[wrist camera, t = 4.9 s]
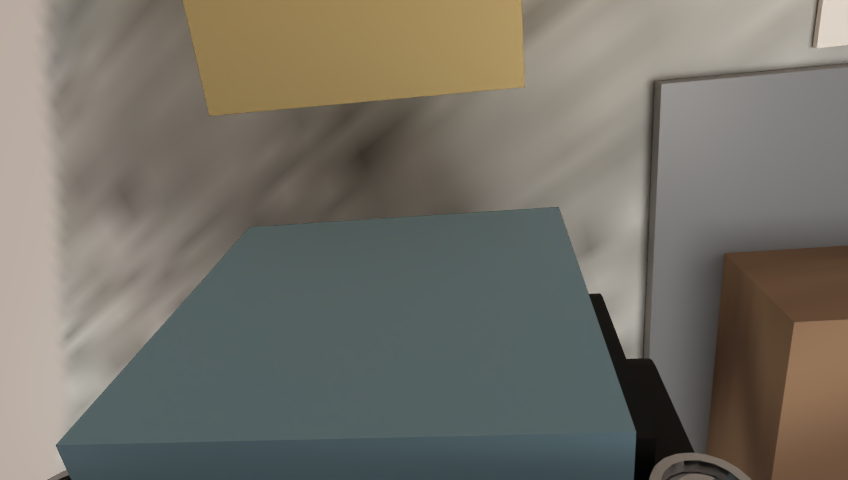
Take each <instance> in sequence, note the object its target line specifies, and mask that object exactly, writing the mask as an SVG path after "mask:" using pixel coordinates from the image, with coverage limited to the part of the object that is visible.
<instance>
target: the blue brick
mask: <svg viewBox="0 0 848 480" xmlns="http://www.w3.org/2000/svg"><path fill="white" fill-rule="evenodd" d="M56 447H57V449H58V451H59V454H60V456H61V458H62V460H63V462H64V465H65V467H66V469H67V471H68V474H69V476H70V478H71V480H634V467H635V447H636V430H635V427H634V424H633V421H632V418H631V415H630V413H629V410H628V407H627V404H626V401H625V398H624V395H623V392H622V389H621V386H620V384H619V381H618V378H617V375H616V372H615V369H614V366H613V363H612V360H611V357H610V355H609V352H608V349H607V346H606V343H605V340H604V337H603V334H602V331H601V328H600V326H599V323H598V320H597V317H596V314H595V311H594V308H593V305H592V302H591V299H590V297H589V294H588V291H587V288H586V285H585V282H584V279H583V276H582V273H581V270H580V268H579V265H578V262H577V259H576V256H575V253H574V250H573V247H572V244H571V241H570V239H569V236H568V233H567V230H566V227H565V224H564V221H563V218H562V215H561V212H560V210H559V207H550V208H534V209H519V210H504V211H489V212H473V213H458V214H443V215H427V216H412V217H397V218H381V219H366V220H351V221H335V222H320V223H305V224H289V225H274V226H259V227H249V229H248V230H247V231H246V232H245V233H244V234H243V235H242V236H241V238H240V239H239V240H238V241H237V242H236V243H235V244H234V245H233V247H232V248H231V249H230V250H229V251H228V252H227V253H226V254H225V256H224V257H223V258H222V259H221V260H220V261H219V262H218V263H217V265H216V266H215V267H214V268H213V269H212V270H211V271H210V272H209V274H208V275H207V276H206V277H205V278H204V279H203V280H202V281H201V283H200V284H199V285H198V286H197V287H196V288H195V289H194V290H193V291H192V293H191V294H190V295H189V296H188V297H187V298H186V299H185V300H184V302H183V303H182V304H181V305H180V306H179V307H178V308H177V309H176V311H175V312H174V313H173V314H172V315H171V316H170V317H169V318H168V320H167V321H166V322H165V323H164V324H163V325H162V326H161V327H160V329H159V330H158V331H157V332H156V333H155V334H154V335H153V336H152V338H151V339H150V340H149V341H148V342H147V343H146V344H145V345H144V347H143V348H142V349H141V350H140V351H139V352H138V353H137V354H136V356H135V357H134V358H133V359H132V360H131V361H130V362H129V363H128V365H127V366H126V367H125V368H124V369H123V370H122V371H121V372H120V374H119V375H118V376H117V377H116V378H115V379H114V380H113V381H112V383H111V384H110V385H109V386H108V387H107V388H106V389H105V390H104V392H103V393H102V394H101V395H100V396H99V397H98V398H97V399H96V401H95V402H94V403H93V404H92V405H91V406H90V407H89V408H88V410H87V411H86V412H85V413H84V414H83V415H82V416H81V417H80V419H79V420H78V421H77V422H76V423H75V424H74V425H73V426H72V428H71V429H70V430H69V431H68V432H67V433H66V434H65V435H64V437H63V438H62V439H61V440H60V441H59V442H58V443H57V444H56Z"/></svg>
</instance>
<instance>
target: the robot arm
mask: <svg viewBox="0 0 848 480" xmlns="http://www.w3.org/2000/svg"><path fill="white" fill-rule="evenodd" d="M589 297H590V299H591V302H592V305H593V308H594V311H595V314H596V317H597V320H598V323H599V326H600V328H601V331H602V334H603V337H604V340H605V343H606V346H607V349H608V352H609V355H610V357H611V360H612V363H613V366H614V369H615V372H616V375H617V378H618V381H619V384H620V386H621V389H622V392H623V395H624V398H625V401H626V404H627V407H628V410H629V413H630V415H631V418H632V421H633V424H634V427H635V430H636V447H635V467H634V480H751V479H750V478H749V477H748V476H747V475H746V474H745V473H743V472H742V471H741V470H740V469H739V468H737V467H735V466H734V465H732V464H730V463H728V462H726V461H725V460H722V459H719V458H716V457H713V456H710V455H706V454H699V453H695V452H694V450H693V448H692V445H691V443H690V441H689V439H688V437H687V434H686V432H685V430H684V428H683V425H682V423H681V421H680V419H679V417H678V414H677V412H676V410H675V408H674V406H673V403H672V401H671V399H670V397H669V394H668V392H667V390H666V388H665V386H664V383H663V381H662V379H661V377H660V374H659V372H658V370H657V368H656V366H655V364H654V362H653V360H652V359H650V358H643V359H626V357H625V355H624V352H623V349H622V347H621V344H620V342H619V339H618V336H617V334H616V331H615V328H614V326H613V323H612V321H611V318H610V315H609V313H608V310H607V308H606V305H605V302H604V300H603V297H602V295H601V294H589ZM48 480H71V478H70V476H69V474H68V471H67V470H66V471H63V472H61V473H59V474H57V475H55V476H54V477H52V478H50V479H48Z"/></svg>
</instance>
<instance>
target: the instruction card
mask: <svg viewBox="0 0 848 480" xmlns="http://www.w3.org/2000/svg"><path fill="white" fill-rule="evenodd" d="M843 45H848V0H819V3H818V10H817V18H816V25H815V33H814V40H813V48H822V47H833V46H843Z"/></svg>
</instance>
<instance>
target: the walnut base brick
mask: <svg viewBox="0 0 848 480" xmlns="http://www.w3.org/2000/svg"><path fill="white" fill-rule="evenodd" d="M706 455H710V456H713V457H716V458H719V459H722V460H725V461H726V462H728V463H730V464H732V465H734V466H735V467H737V468H739V469H740V470H741V471H742V472H743V473H745V474H746V475H747V476H748V477H749V478H750V479H751V480H848V245H847V246H831V247H815V248H799V249H784V250H768V251H752V252H736V253H725V256H724V266H723V277H722V288H721V299H720V310H719V321H718V331H717V342H716V353H715V364H714V375H713V386H712V396H711V407H710V418H709V429H708V440H707V451H706Z"/></svg>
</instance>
